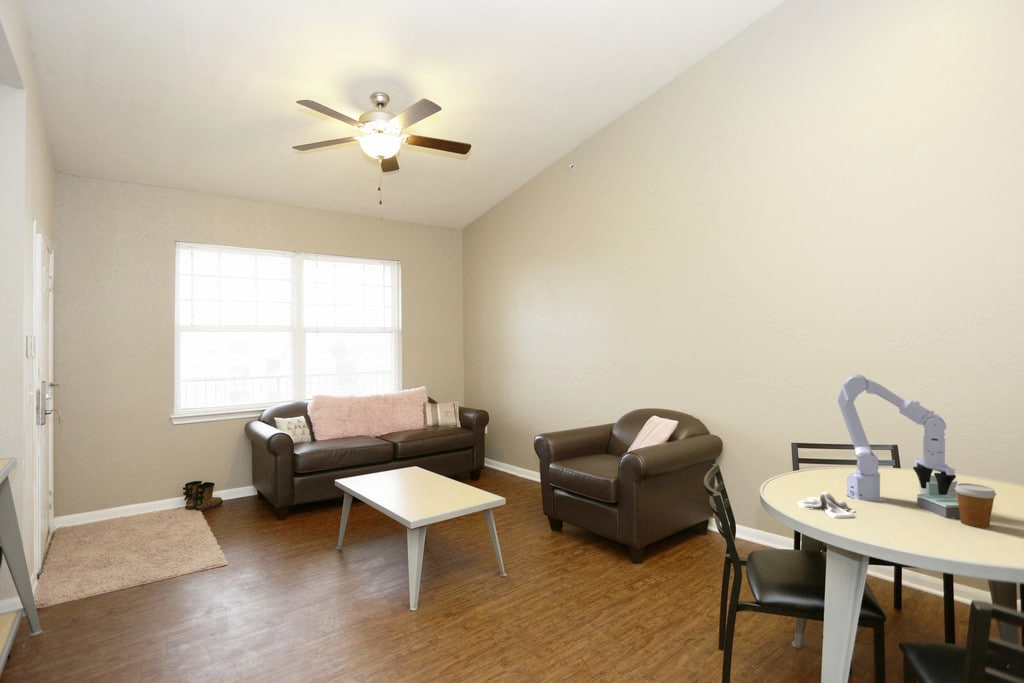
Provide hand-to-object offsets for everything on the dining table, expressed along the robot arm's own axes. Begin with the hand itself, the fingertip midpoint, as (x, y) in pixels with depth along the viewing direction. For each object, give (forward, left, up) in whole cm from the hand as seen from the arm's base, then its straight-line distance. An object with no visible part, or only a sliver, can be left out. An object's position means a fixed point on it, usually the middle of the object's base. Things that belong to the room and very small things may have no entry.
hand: (933, 491), depth 178 cm
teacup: (+10, +11, -6) cm, 16 cm away
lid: (0, -5, -2) cm, 6 cm away
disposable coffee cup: (-1, -17, -6) cm, 18 cm away
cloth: (-35, 0, -7) cm, 36 cm away
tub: (0, -5, -6) cm, 8 cm away
